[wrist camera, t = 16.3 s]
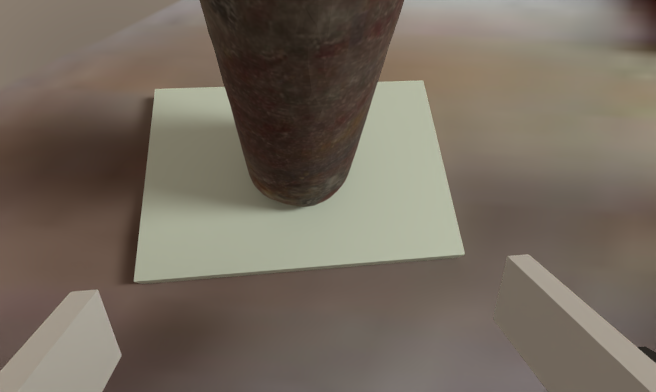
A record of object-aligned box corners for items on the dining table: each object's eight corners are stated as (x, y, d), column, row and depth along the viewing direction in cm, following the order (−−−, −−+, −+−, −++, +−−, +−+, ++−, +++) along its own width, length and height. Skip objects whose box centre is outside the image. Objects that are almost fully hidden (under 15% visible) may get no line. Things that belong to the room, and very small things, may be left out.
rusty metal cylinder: (365, 145, 26) (513, -303, 8) (331, 229, 24) (428, -142, 5) (275, 111, 27) (208, -381, 8) (231, 189, 24) (-11, -274, 6)
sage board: (161, 98, 28) (155, 89, 27) (418, 89, 30) (423, 80, 29) (142, 284, 23) (133, 281, 21) (457, 257, 25) (464, 254, 24)
